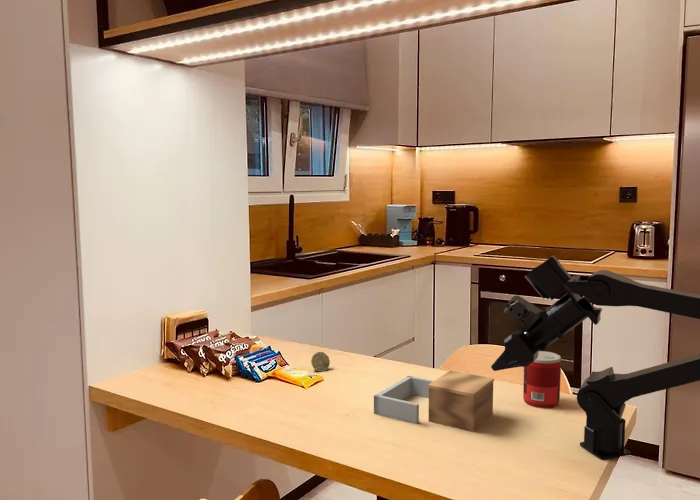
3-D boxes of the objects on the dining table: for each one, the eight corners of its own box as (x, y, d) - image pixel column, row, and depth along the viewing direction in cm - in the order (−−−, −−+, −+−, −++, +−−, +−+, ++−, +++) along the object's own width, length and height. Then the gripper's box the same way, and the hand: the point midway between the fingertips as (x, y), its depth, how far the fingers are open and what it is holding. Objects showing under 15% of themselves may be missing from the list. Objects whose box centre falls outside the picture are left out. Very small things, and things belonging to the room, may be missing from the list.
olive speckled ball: (331, 369, 164) (331, 351, 163) (321, 374, 160) (321, 355, 159) (318, 366, 166) (318, 348, 165) (307, 371, 162) (307, 353, 161)
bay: (448, 400, 140) (448, 383, 140) (416, 423, 127) (416, 405, 126) (408, 391, 146) (408, 375, 145) (373, 413, 133) (373, 395, 132)
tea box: (493, 414, 132) (494, 378, 131) (473, 433, 122) (473, 394, 121) (450, 405, 137) (450, 370, 136) (427, 422, 128) (428, 384, 127)
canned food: (566, 406, 136) (567, 359, 134) (533, 409, 134) (534, 361, 133) (548, 395, 143) (549, 349, 142) (517, 397, 141) (518, 352, 140)
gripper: (543, 277, 125) (488, 321, 133) (519, 292, 110) (457, 341, 117) (580, 320, 123) (521, 362, 130) (560, 342, 107) (495, 389, 114)
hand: (499, 362), depth 123 cm, fingers open, 9 cm apart
